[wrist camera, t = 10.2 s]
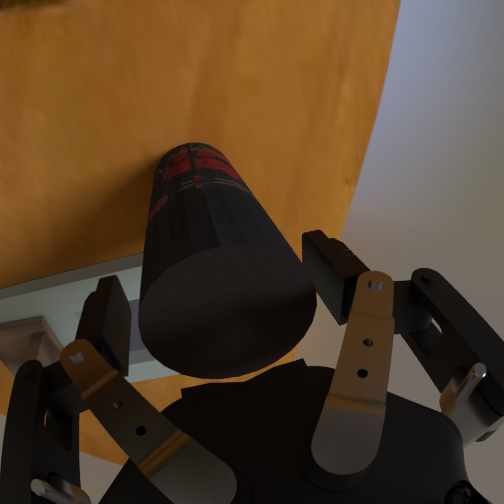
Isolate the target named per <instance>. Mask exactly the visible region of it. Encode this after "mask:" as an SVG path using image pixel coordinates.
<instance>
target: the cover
mask: <svg viewBox="0 0 504 504" xmlns="http://www.w3.org/2000/svg"><path fill="white" fill-rule="evenodd" d="M63 349H64V347H63V346H62V344H61V343H60V341H59V340H58V338H57V337H56V335H55V334H54V333H53V331H52V330H51V328H50V326H49V325H48V323H47V322H46V320H45V319H44V317H39V318H34V319H29V320H24V321H19V322H14V323H9V324H3V325H0V360H1V361H2V362H3V363H4V364H5V366H6V367H7V368H8V369H9V370H10V371H11V373H12V374H13V375H14V376H15V375H16V372H17V370H18V369H19V367H20V366H21V365H22V364H23V363H25V362H26V361H29V360H33V359H35V360H38V361H40V362H41V364H42V365H43V366H44V367H46V366H48V365H50V364H52V363H55V362H57V361H59V360H60V354H61V352H62V350H63Z"/></svg>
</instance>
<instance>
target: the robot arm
mask: <svg viewBox="0 0 504 504" xmlns="http://www.w3.org/2000/svg"><path fill="white" fill-rule="evenodd" d="M302 264H303V265H304V267H305V268H306V270H307V271H308V272H309V274H310V277H311V279H312V281H313V283H314V286H315V288H316V292H317V293H318V295H319V296H320V298H321V299H322V301H323V302H324V304H325V305H326V306H327V308H328V310H329V311H330V313H331V314H332V316H333V317H334V318H335V320H336V321H337V323H338V324H339V325H343V324H346V323H347V327H346V331H345V335H344V339H343V343H342V347H341V351H340V354H339V358H338V362H337V365H336V369H333V368H329V367H323V366H307V365H306V363H305V361H304V359H303V358H302V359H299V360H296V361H292V362H289V363H286V364H282V365H279V366H275V367H273V368H271V369H269V370H267V371H265V372H263V373H261V374H259V375H257V376H255V377H253V378H251V379H249V380H247V381H245V382H226V383H207V384H203V385H198V386H193V387H188V388H183V389H181V394H182V398H181V399H178V400H177V401H175V402H173V403H171V404H170V405H169V406H167V407H166V408H165V409H164V410H162V411H161V412H159V411H158V410H157V409H156V408H155V407H154V406H152V405H151V404H150V403H149V402H148V401H147V400H146V399H145V398H144V397H143V396H142V395H141V394H140V393H139V392H138V391H137V390H136V389H135V388H134V387H133V386H132V385H131V384H130V383H129V382H128V381H127V380H126V379H125V378H124V377H128V376H129V351H130V335H131V321H132V313H131V308H130V304H129V302H128V299H127V297H126V295H125V292H124V290H123V288H122V285H121V283H120V280H119V278H118V276H117V275H111V276H107V277H103V278H100V279H99V281H98V284H97V288H96V291H94V292H91V293H90V294H89V296H88V297H87V298H86V300H85V302H84V305H83V309H82V310H83V311H82V313H81V318H80V320H79V324H78V328H77V332H76V336H75V340H74V341H72V342H70V343H69V344H68V345H66V346H65V347H64V349H63V350H62V352H61V354H60V360H59V361H57V362H55V363H52V364H50V365H48V366H46V367H44V366H43V365H42V364H41V362H40V361H38V360H35V359H33V360H29V361H26V362H25V363H23V364H22V365H21V366H20V367H19V369H18V370H17V372H16V375H15V379H14V384H13V388H12V392H11V397H10V402H9V407H8V413H7V419H6V425H5V432H4V439H3V447H2V457H1V470H0V504H92V503H91V500H90V498H89V496H88V495H87V494H86V492H84V491H83V490H82V489H81V485H80V468H79V467H80V466H79V413H81V412H84V411H86V410H88V409H90V410H91V412H92V413H93V414H94V416H95V417H96V418H97V419H98V421H99V422H100V423H101V425H102V426H103V427H104V428H105V430H106V431H107V432H108V433H109V435H110V436H111V437H112V438H113V439H114V441H115V442H116V443H117V444H118V445H119V446H120V448H121V449H122V450H123V451H124V452H125V453H126V454H127V456H128V457H129V459H128V460H127V462H126V463H125V465H124V466H123V468H122V469H121V471H120V472H119V473H118V475H117V476H116V478H115V479H114V481H113V482H112V484H111V485H110V487H109V488H108V490H107V491H106V493H105V494H104V496H103V497H102V499H101V500H100V502H99V503H98V504H492V503H491V502H490V501H488V500H487V499H486V498H484V497H483V496H482V495H481V494H480V493H478V491H476V489H475V488H474V487H473V486H472V485H471V483H470V482H469V479H468V476H467V473H466V469H465V464H464V452H463V449H464V448H465V447H467V446H468V445H470V444H471V443H473V442H474V441H476V442H480V441H484V440H486V439H487V438H488V437H489V436H490V435H492V434H493V433H494V432H495V431H496V430H497V429H498V428H499V427H500V426H501V425H502V424H503V423H504V342H503V340H502V339H501V338H500V337H499V336H498V334H497V333H496V332H495V331H494V330H493V329H492V328H491V327H490V325H489V324H488V323H487V322H486V321H485V320H484V319H483V318H482V316H480V314H479V313H478V312H477V311H476V310H475V309H474V308H473V307H472V306H471V305H470V304H469V303H468V302H467V300H465V298H464V297H463V296H462V295H461V294H460V293H459V292H458V291H457V290H456V289H455V288H454V287H453V286H452V285H451V284H450V283H449V282H448V281H447V280H446V279H445V278H444V277H443V276H442V275H441V274H439V273H438V272H437V271H434V270H432V269H428V268H419V269H417V270H415V271H414V272H413V273H412V277H411V280H407V281H393V280H392V278H391V277H390V276H389V275H387V274H385V273H383V272H380V271H370V269H368V267H367V266H366V265H365V264H364V263H363V262H362V261H361V260H360V259H359V258H358V257H357V256H356V255H354V253H353V252H352V251H351V250H349V248H348V247H347V246H346V245H345V244H344V243H343V242H341V241H339V240H337V239H334V238H330V239H329V238H328V237H327V236H326V235H325V234H324V233H323V232H322V231H321V230H314V231H310V232H305V233H303V234H302ZM432 318H433V319H434V320H435V321H436V322H437V323H438V325H439V326H440V328H441V331H442V334H441V332H440V331H439V330H438V329H437V327H436V326H435V325H434V324H433V323H432V321H431V320H432ZM394 334H401V336H402V337H403V339H404V340H405V341H406V343H407V344H408V346H409V347H410V349H411V350H412V351H413V353H414V354H415V356H416V357H417V359H418V360H419V362H420V363H421V364H422V366H423V367H424V369H425V371H426V372H427V373H428V375H429V376H430V378H431V380H432V381H433V383H434V384H435V386H436V387H437V389H438V390H439V392H440V393H441V396H440V400H439V402H440V407H441V410H442V411H441V412H439V411H436V410H433V409H431V408H428V407H425V406H423V405H420V404H418V403H415V402H413V401H410V400H408V399H405V398H403V397H400V396H398V395H395V394H393V393H390V392H388V391H387V388H388V381H389V373H390V365H391V357H392V347H393V336H394ZM45 413H46V424H45V426H44V421H45Z"/></svg>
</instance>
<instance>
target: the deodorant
mask: <svg viewBox="0 0 504 504" xmlns="http://www.w3.org/2000/svg"><path fill="white" fill-rule="evenodd" d="M316 307H317V298H316V288H315V286H314V283H313V281H312V279H311V277H310V274H309V272H308V271H307V270H306V268H305V267H304V265H303V264H302V262H301V261H300V259H299V258H298V257H297V255H296V254H295V252H294V251H293V249H292V248H291V247H290V245H289V244H288V242H287V241H286V239H285V238H284V237H283V235H282V234H281V232H280V231H279V230H278V228H277V227H276V225H275V224H274V223H273V221H272V220H271V218H270V217H269V216H268V214H267V213H266V211H265V210H264V209H263V207H262V206H261V204H260V203H259V202H258V200H257V199H256V198H255V196H254V195H253V193H252V192H251V191H250V189H249V188H248V187H247V185H246V184H245V182H244V181H243V180H242V178H241V177H240V176H239V174H238V173H237V172H236V170H235V169H234V168H233V166H232V165H231V164H230V162H229V161H228V159H227V158H226V157H225V156H224V155H223V154H222V153H221V152H220V151H219V150H218V149H216V148H214V147H212V146H211V145H207V144H203V143H186V144H183V145H180V146H177V147H176V148H174V149H172V150H171V151H169V152H168V153H167V154H166V155H165V156H164V157H163V158H162V159H161V161H160V163H159V165H158V167H157V169H156V173H155V177H154V183H153V188H152V195H151V201H150V207H149V214H148V221H147V229H146V236H145V245H144V253H143V263H142V273H141V284H140V297H139V312H138V327H139V331H140V336H141V340H142V342H143V344H144V345H145V347H146V348H147V350H148V351H149V353H150V354H151V356H153V357H154V358H155V359H156V360H157V361H159V362H160V363H161V364H162V365H163V366H165V367H167V368H169V369H171V370H173V371H175V372H177V373H180V374H182V375H187V376H191V377H195V378H201V379H224V378H232V377H239V376H242V375H245V374H249V373H252V372H255V371H258V370H260V369H262V368H264V367H267V366H269V365H271V364H273V363H275V362H276V361H278V360H279V359H280V358H282V357H283V356H284V355H286V354H287V353H289V352H290V351H291V350H292V349H293V348H294V347H295V346H296V345H297V344H298V343H299V342H300V341H301V339H302V338H303V337H304V335H305V334H306V332H307V330H308V329H309V327H310V325H311V324H312V322H313V318H314V314H315V311H316Z"/></svg>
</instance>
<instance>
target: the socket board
mask: <svg viewBox="0 0 504 504" xmlns="http://www.w3.org/2000/svg"><path fill="white" fill-rule="evenodd" d="M142 263H143V253H140V254H136V255H132V256H127V257H123V258H119V259H115V260H111V261H107V262H103V263H99V264H95V265H91V266H87V267H83V268H79V269H75V270H71V271H67V272H63V273H59V274H55V275H51V276H47V277H43V278H40V279H36V280H32V281H28V282H24V283H21V284H17V285H13V286H10V287H6V288H2V289H0V325H3V324H9V323H14V322H19V321H24V320H29V319H34V318H39V317H44V319H45V320H46V322H47V323H48V325H49V326H50V328H51V330H52V331H53V333H54V334H55V335H56V337H57V338H58V340H59V341H60V343H61V344H62V346H63V347H65V346H66V345H68V344H69V343H70V342H72V341H74V340H75V336H76V332H77V328H78V324H79V320H80V318H81V313H82V311H83V310H82V309H83V305H84V302H85V300H86V298H87V297H88V296H89V294H90V293H91V292H94V291H96V288H97V284H98V281H99V279H100V278H103V277H107V276H111V275H117V276H118V278H119V280H120V283H121V285H122V288H123V290H124V292H125V295H126V297H127V299H128V302H129V304H130V308H131V313H132V321H131V335H130V351H129V376H128V377H124V378H125V379H126V380H127V381H128V382H129V383H130V382H137V381H143V380H149V379H155V378H161V377H166V376H172V375H177V374H180V373H177V372H175V371H173V370H171V369H169V368H167V367H165V366H163V365H162V364H161V363H160V362H159V361H157V360H156V359H155V358H154V357H153V356H151V354H150V353H149V351H148V350H147V348H146V347H145V345H144V344H143V342H142V340H141V336H140V331H139V327H138V312H139V297H140V284H141V273H142Z"/></svg>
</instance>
